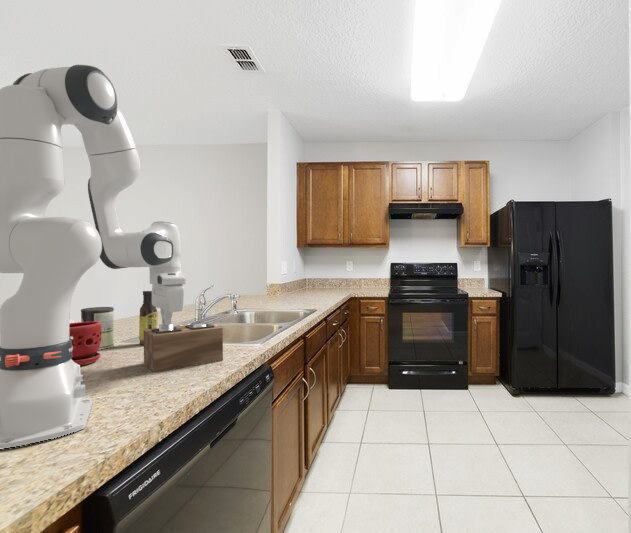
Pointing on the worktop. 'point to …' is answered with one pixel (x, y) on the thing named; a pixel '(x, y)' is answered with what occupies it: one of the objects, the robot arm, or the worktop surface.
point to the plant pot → (85, 341)
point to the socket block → (182, 346)
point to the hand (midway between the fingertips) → (166, 324)
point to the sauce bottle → (147, 315)
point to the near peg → (166, 327)
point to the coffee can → (106, 321)
